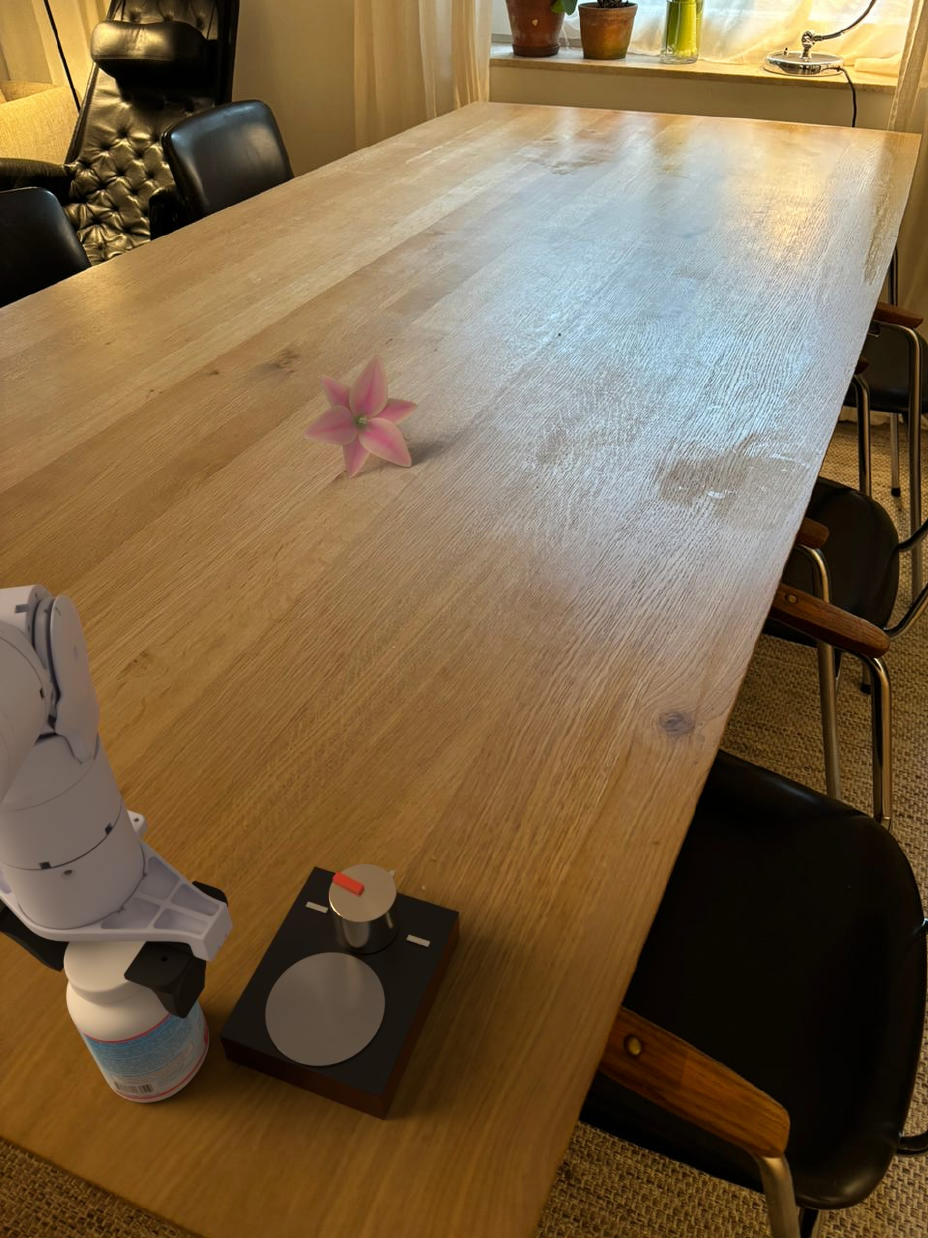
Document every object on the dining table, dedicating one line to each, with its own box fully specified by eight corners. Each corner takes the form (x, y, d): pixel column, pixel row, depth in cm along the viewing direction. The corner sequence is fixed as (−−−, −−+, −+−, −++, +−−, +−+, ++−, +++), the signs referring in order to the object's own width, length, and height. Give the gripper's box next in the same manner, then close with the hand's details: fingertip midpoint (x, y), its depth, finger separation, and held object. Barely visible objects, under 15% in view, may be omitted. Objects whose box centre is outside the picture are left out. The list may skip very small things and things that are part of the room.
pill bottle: (232, 1036, 59) (196, 932, 51) (156, 1127, 55) (106, 1028, 47) (158, 986, 61) (114, 879, 54) (81, 1069, 57) (22, 966, 50)
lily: (290, 481, 106) (303, 430, 98) (307, 393, 111) (321, 338, 103) (399, 507, 109) (420, 459, 100) (411, 420, 114) (432, 368, 105)
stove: (384, 1121, 55) (380, 1096, 53) (226, 1060, 58) (217, 1033, 55) (467, 921, 64) (466, 893, 62) (328, 876, 67) (323, 848, 65)
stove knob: (412, 914, 61) (409, 878, 59) (375, 965, 59) (371, 930, 56) (358, 886, 63) (353, 850, 60) (321, 935, 60) (314, 899, 58)
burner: (354, 1085, 53) (354, 1083, 53) (243, 1043, 55) (243, 1041, 55) (403, 975, 58) (403, 973, 58) (300, 940, 60) (299, 938, 60)
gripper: (245, 792, 45) (284, 954, 53) (-16, 713, 48) (61, 876, 57) (156, 923, 40) (216, 1078, 48) (-127, 823, 43) (-24, 983, 52)
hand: (127, 976), depth 53 cm, fingers open, 7 cm apart
